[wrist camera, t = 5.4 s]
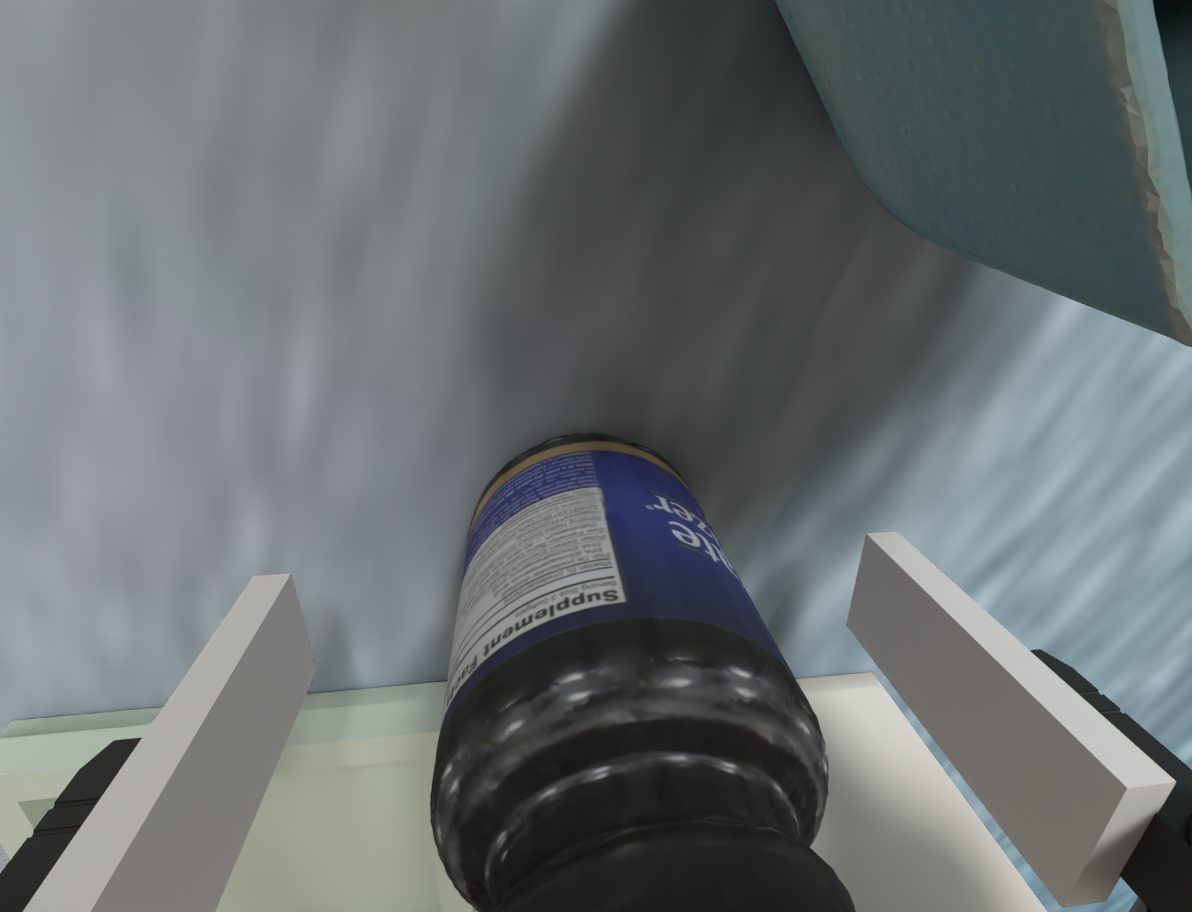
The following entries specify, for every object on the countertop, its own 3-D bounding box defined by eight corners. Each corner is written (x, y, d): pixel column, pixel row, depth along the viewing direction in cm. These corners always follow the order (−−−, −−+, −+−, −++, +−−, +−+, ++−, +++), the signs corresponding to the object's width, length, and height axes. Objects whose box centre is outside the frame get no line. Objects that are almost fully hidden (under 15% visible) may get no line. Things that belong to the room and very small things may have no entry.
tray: (12, 720, 16) (-44, 779, 15) (452, 681, 18) (445, 731, 16) (149, 957, 21) (119, 1020, 20) (483, 913, 23) (481, 968, 21)
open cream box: (655, 692, 19) (741, 1007, 12) (871, 671, 20) (1077, 953, 12) (647, 838, 22) (710, 1157, 15) (834, 815, 23) (981, 1106, 16)
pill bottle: (726, 554, 17) (1024, 1077, 7) (547, 650, 18) (586, 1252, 8) (627, 380, 14) (873, 817, 4) (420, 501, 15) (234, 1114, 5)
